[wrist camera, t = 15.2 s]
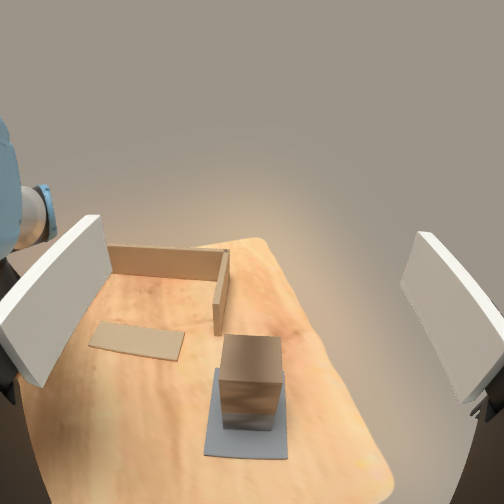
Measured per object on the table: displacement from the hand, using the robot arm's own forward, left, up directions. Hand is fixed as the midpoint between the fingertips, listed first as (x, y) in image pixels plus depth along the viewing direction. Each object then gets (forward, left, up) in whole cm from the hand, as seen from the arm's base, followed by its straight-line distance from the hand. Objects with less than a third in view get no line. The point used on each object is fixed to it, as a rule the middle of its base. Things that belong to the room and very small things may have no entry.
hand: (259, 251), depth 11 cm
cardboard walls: (-19, +28, -30) cm, 45 cm away
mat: (0, +9, -30) cm, 31 cm away
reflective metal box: (0, +9, -29) cm, 31 cm away
